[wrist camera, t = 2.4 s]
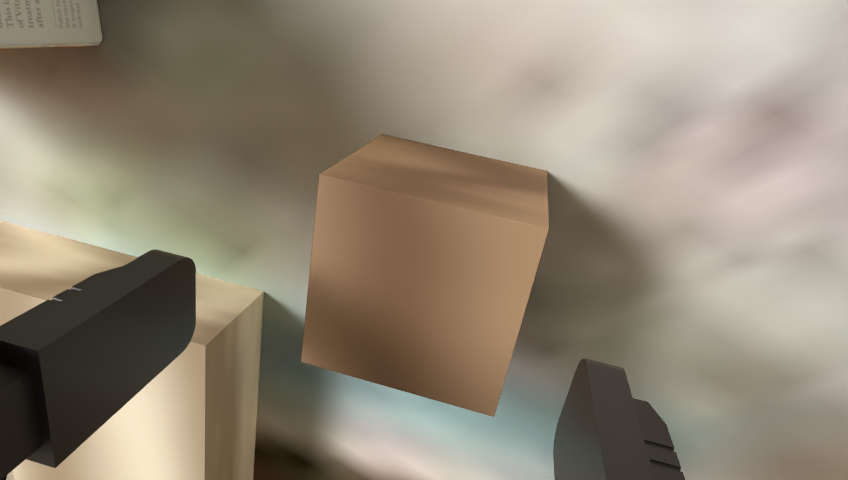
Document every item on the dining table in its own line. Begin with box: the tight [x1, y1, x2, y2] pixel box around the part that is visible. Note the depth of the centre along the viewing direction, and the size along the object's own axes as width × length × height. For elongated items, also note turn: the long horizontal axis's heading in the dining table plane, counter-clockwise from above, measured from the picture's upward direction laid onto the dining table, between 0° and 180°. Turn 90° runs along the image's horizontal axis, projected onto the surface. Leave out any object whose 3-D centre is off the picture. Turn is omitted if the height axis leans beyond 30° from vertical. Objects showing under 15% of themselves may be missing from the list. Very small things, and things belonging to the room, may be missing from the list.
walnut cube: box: [301, 134, 549, 417], centre depth 14 cm, size 5×5×5 cm
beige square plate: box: [0, 221, 264, 480], centre depth 20 cm, size 12×12×4 cm
